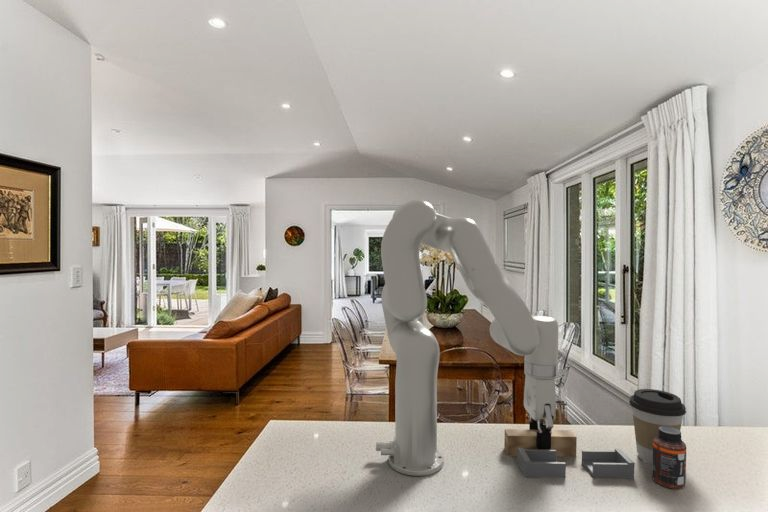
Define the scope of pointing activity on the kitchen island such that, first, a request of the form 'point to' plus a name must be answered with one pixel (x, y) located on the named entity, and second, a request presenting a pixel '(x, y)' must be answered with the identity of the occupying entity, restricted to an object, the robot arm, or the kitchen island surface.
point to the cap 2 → (608, 463)
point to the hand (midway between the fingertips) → (539, 442)
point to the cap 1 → (540, 463)
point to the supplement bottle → (669, 458)
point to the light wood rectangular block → (527, 439)
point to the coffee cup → (654, 417)
